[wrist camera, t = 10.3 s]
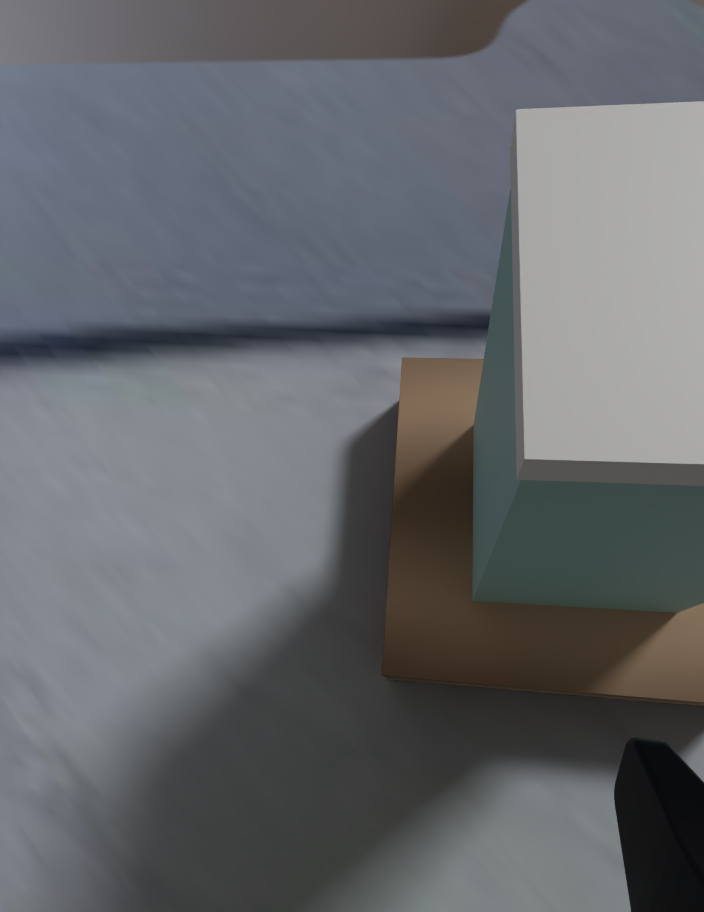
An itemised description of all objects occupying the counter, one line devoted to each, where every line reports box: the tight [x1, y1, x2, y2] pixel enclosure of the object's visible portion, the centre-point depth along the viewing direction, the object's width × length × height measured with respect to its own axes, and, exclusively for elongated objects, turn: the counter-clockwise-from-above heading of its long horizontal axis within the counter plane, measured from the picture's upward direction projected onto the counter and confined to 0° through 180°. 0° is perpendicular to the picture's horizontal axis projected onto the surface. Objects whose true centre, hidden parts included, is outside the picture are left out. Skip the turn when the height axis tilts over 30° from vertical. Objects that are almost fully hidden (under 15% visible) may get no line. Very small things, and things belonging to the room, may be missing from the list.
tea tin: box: [472, 101, 704, 613], centre depth 14 cm, size 6×6×12 cm
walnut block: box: [382, 358, 704, 706], centre depth 22 cm, size 11×11×3 cm
